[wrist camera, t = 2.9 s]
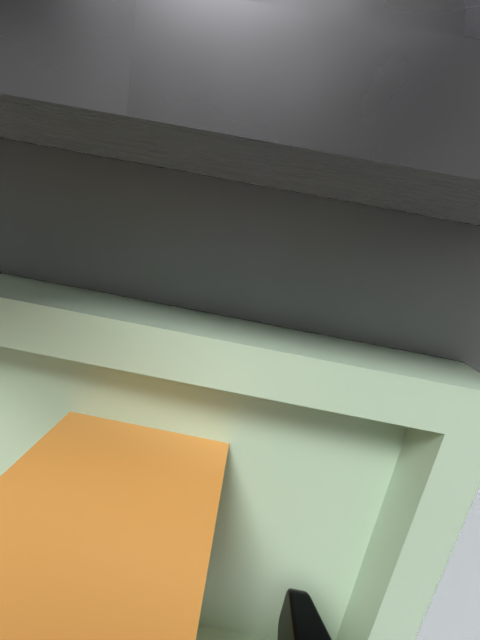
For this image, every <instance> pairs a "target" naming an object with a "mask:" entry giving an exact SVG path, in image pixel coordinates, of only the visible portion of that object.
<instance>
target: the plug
mask: <svg viewBox="0 0 480 640" xmlns="http://www.w3.org/2000/svg"><path fill="white" fill-rule="evenodd" d="M228 448H229V443H225V442H220V441H215V440H210V439H205V438H200V437H195V436H190V435H185V434H180V433H175V432H170V431H165V430H160V429H155V428H150V427H145V426H140V425H135V424H130V423H125V422H120V421H115V420H110V419H105V418H100V417H95V416H90V415H85V414H80V413H75V412H69V413H68V414H67V415H66V416H65V417H64V418H62V419H61V420H60V421H59V422H58V423H57V424H56V425H55V426H54V427H53V428H52V429H51V430H50V431H49V432H47V433H46V434H45V435H44V436H43V437H42V438H41V439H40V440H39V441H38V442H37V443H36V444H35V445H33V446H32V447H31V448H30V449H29V450H28V451H27V452H26V453H25V454H24V455H23V456H22V457H21V458H19V459H18V460H17V461H16V462H15V463H14V464H13V465H12V466H11V467H10V468H9V469H8V470H7V471H5V472H4V473H3V474H2V475H1V476H0V640H196V636H197V630H198V624H199V618H200V612H201V606H202V600H203V594H204V589H205V583H206V577H207V571H208V565H209V559H210V553H211V547H212V542H213V536H214V530H215V524H216V518H217V512H218V506H219V500H220V495H221V489H222V483H223V477H224V471H225V465H226V459H227V453H228Z"/></svg>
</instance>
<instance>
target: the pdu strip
mask: <svg viewBox="0 0 480 640" xmlns="http://www.w3.org/2000/svg"><path fill="white" fill-rule="evenodd" d="M0 138H5V139H11V140H16V141H22V142H27V143H33V144H38V145H43V146H49V147H54V148H60V149H65V150H71V151H76V152H82V153H87V154H92V155H98V156H103V157H109V158H114V159H120V160H125V161H131V162H136V163H141V164H147V165H152V166H158V167H163V168H169V169H174V170H180V171H185V172H190V173H196V174H201V175H207V176H212V177H218V178H223V179H229V180H234V181H239V182H245V183H250V184H256V185H261V186H267V187H272V188H278V189H283V190H288V191H294V192H299V193H305V194H310V195H316V196H321V197H327V198H332V199H337V200H343V201H348V202H354V203H359V204H365V205H370V206H376V207H381V208H386V209H392V210H397V211H403V212H408V213H414V214H419V215H425V216H430V217H435V218H441V219H446V220H452V221H457V222H463V223H468V224H474V225H479V226H480V0H0Z"/></svg>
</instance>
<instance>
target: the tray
mask: <svg viewBox="0 0 480 640" xmlns="http://www.w3.org/2000/svg"><path fill="white" fill-rule="evenodd" d="M69 412H75V413H80V414H85V415H90V416H95V417H100V418H105V419H110V420H115V421H120V422H125V423H130V424H135V425H140V426H145V427H150V428H155V429H160V430H165V431H170V432H175V433H180V434H185V435H190V436H195V437H200V438H205V439H210V440H215V441H220V442H225V443H229V448H228V453H227V459H226V465H225V471H224V477H223V483H222V489H221V495H220V500H219V506H218V512H217V518H216V524H215V530H214V536H213V542H212V547H211V553H210V559H209V565H208V571H207V577H206V583H205V589H204V594H203V600H202V606H201V612H200V618H199V624H198V630H197V636H196V640H277V638H278V622H279V617H280V613H281V609H282V606H283V602H284V598H285V595H286V592H287V590H288V589H289V588H293V589H298V590H303V591H306V592H307V593H308V594H309V595H310V597H311V599H312V601H313V603H314V605H315V607H316V609H317V611H318V613H319V615H320V617H321V619H322V621H323V623H324V625H325V627H326V629H327V631H328V633H329V635H330V637H331V639H332V640H415V638H416V636H417V633H418V631H419V629H420V626H421V624H422V621H423V619H424V617H425V614H426V612H427V610H428V607H429V605H430V602H431V600H432V598H433V595H434V593H435V591H436V588H437V586H438V583H439V581H440V579H441V576H442V574H443V572H444V569H445V567H446V564H447V562H448V560H449V557H450V555H451V553H452V550H453V548H454V546H455V543H456V541H457V538H458V536H459V534H460V531H461V529H462V527H463V524H464V522H465V519H466V517H467V515H468V512H469V510H470V508H471V505H472V503H473V500H474V498H475V496H476V493H477V491H478V489H479V486H480V373H479V372H478V371H476V370H475V369H473V368H472V367H470V366H469V365H467V364H466V363H464V362H460V361H455V360H450V359H445V358H439V357H434V356H429V355H424V354H419V353H413V352H408V351H403V350H398V349H393V348H388V347H382V346H377V345H372V344H367V343H362V342H356V341H351V340H346V339H341V338H336V337H330V336H325V335H320V334H315V333H310V332H304V331H299V330H294V329H289V328H284V327H278V326H273V325H268V324H263V323H258V322H253V321H247V320H242V319H237V318H232V317H227V316H221V315H216V314H211V313H206V312H201V311H195V310H190V309H185V308H180V307H175V306H169V305H164V304H159V303H154V302H149V301H144V300H138V299H133V298H128V297H123V296H118V295H112V294H107V293H102V292H97V291H92V290H86V289H81V288H76V287H71V286H66V285H60V284H55V283H50V282H45V281H40V280H34V279H29V278H24V277H19V276H14V275H9V274H3V273H0V476H1V475H2V474H3V473H4V472H5V471H7V470H8V469H9V468H10V467H11V466H12V465H13V464H14V463H15V462H16V461H17V460H18V459H19V458H21V457H22V456H23V455H24V454H25V453H26V452H27V451H28V450H29V449H30V448H31V447H32V446H33V445H35V444H36V443H37V442H38V441H39V440H40V439H41V438H42V437H43V436H44V435H45V434H46V433H47V432H49V431H50V430H51V429H52V428H53V427H54V426H55V425H56V424H57V423H58V422H59V421H60V420H61V419H62V418H64V417H65V416H66V415H67V414H68V413H69Z"/></svg>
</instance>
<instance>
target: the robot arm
mask: <svg viewBox="0 0 480 640" xmlns="http://www.w3.org/2000/svg"><path fill="white" fill-rule="evenodd" d="M277 640H332V639H331V637H330V635H329V633H328V631H327V629H326V627H325V625H324V623H323V621H322V619H321V617H320V615H319V613H318V611H317V609H316V607H315V605H314V603H313V601H312V599H311V597H310V595H309V594H308V593H307V592H306V591H303V590H298V589H293V588H289V589H288V590H287V592H286V595H285V598H284V602H283V606H282V609H281V613H280V617H279V622H278V638H277Z"/></svg>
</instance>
